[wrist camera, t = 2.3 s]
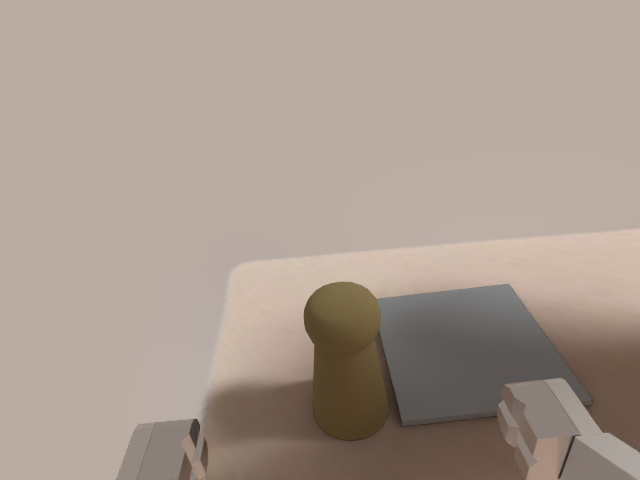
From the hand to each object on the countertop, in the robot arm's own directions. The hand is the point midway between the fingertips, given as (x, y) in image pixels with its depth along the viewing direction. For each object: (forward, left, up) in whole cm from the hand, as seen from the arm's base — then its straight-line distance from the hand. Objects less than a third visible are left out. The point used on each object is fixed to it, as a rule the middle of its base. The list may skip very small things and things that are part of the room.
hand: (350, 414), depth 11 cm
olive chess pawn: (-1, -14, -19) cm, 24 cm away
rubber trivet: (-11, -19, -19) cm, 29 cm away
